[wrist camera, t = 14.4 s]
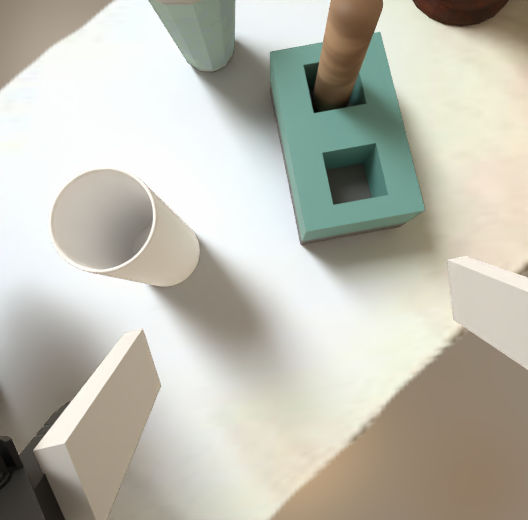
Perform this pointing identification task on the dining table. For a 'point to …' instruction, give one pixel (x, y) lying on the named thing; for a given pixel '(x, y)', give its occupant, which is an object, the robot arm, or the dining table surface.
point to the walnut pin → (344, 51)
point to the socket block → (343, 148)
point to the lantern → (460, 10)
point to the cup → (121, 229)
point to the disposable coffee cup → (200, 30)
